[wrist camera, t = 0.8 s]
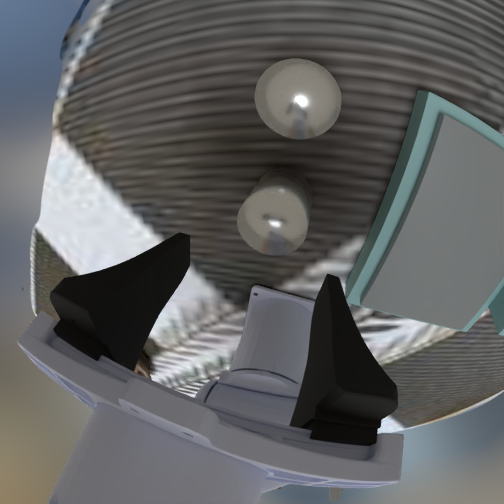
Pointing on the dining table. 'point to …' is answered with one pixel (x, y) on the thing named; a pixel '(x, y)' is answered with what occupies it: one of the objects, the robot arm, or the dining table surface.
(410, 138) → the scale
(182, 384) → the dining table surface
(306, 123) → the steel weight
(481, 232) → the pan
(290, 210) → the cylinder
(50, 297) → the robot arm
